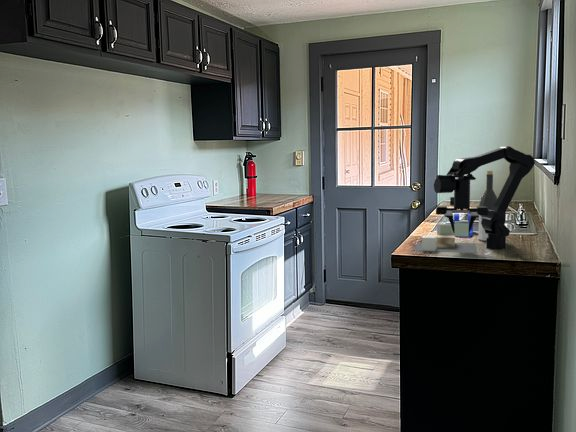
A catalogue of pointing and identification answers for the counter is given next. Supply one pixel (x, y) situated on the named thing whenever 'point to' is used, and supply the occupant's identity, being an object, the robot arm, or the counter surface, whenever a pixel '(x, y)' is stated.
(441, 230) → the mat
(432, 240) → the cream cube
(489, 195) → the wine bottle
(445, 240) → the oak base block
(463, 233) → the sage cube
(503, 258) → the counter surface
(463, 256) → the counter surface
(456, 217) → the bracket
